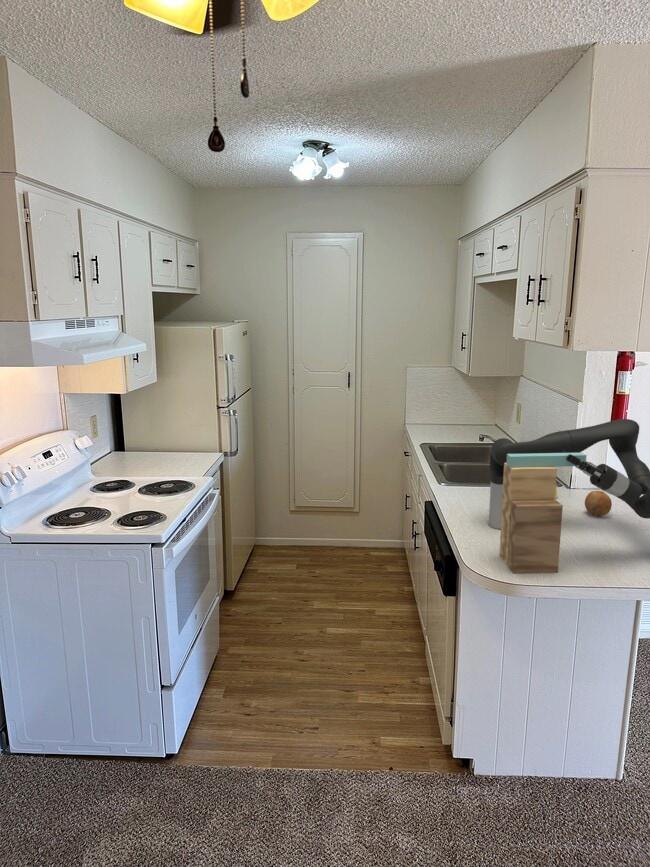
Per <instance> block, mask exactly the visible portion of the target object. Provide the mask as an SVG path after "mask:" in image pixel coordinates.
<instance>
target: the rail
mask: <svg viewBox="0 0 650 867" xmlns="http://www.w3.org/2000/svg"><path fill="white" fill-rule="evenodd" d="M569 454H571V455H573V456H575V457H576V458H578V459H581V460H583V461H584V462H586V461H587V454H585V453H583V452H580V453H531V454H507V463H506V465H508V466H509V467H556V468H558V467H575V466H576V465H574V464H573V463H571V462H569V461H567V460H566V458H567V456H568V455H569ZM579 461H580V460H579Z"/></svg>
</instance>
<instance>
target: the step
mask: <svg viewBox="0 0 650 867" xmlns="http://www.w3.org/2000/svg"><path fill="white" fill-rule="evenodd" d="M563 506H564V505H563V504H562V503H561V502H559V501H558V500H556V499H555V500H543V501H512V505H511V524H510V542H509V560H508V565H507V567H508V568H509V570H510V569H511V570H510V571H511V573H512V574H545V573H546V574H547V573H548V574H550V573H553V574H555V573H559V564H560V560H559V559H560V549H561V533H562V520H563Z"/></svg>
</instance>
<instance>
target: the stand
mask: <svg viewBox="0 0 650 867" xmlns="http://www.w3.org/2000/svg"><path fill="white" fill-rule="evenodd" d="M557 475H558V467H509V466H508V465H506V463H504V477H503V496H502V516H501V529H500V539H499V557H500V558H501V557H502V558H503V559H502V558H501V559H502V560H503V561H505V562H504V563H505V564H506V566H508V560H509V542H510V524H511V505H512V501H543V500H556V498H555V491H556V486H557Z"/></svg>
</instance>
